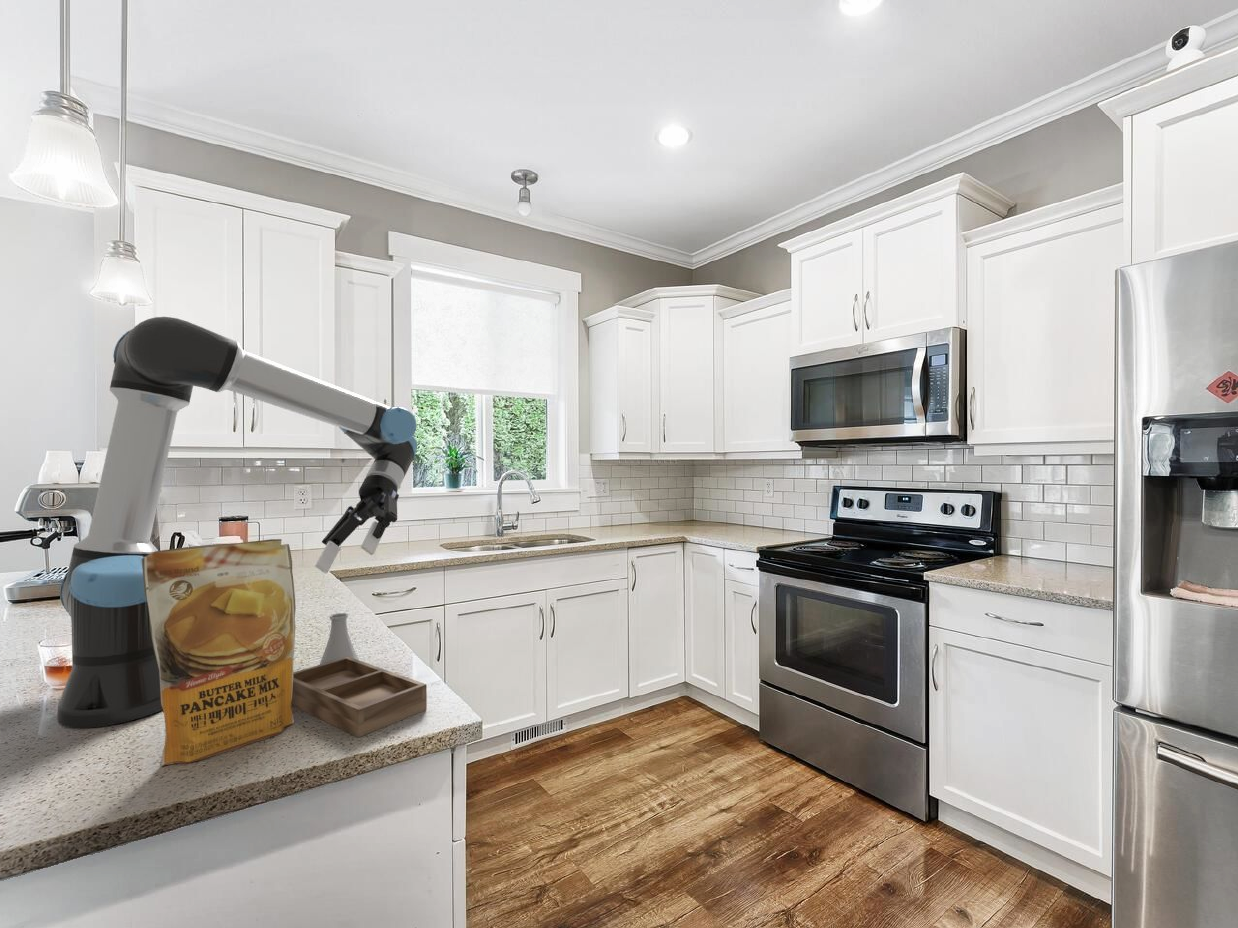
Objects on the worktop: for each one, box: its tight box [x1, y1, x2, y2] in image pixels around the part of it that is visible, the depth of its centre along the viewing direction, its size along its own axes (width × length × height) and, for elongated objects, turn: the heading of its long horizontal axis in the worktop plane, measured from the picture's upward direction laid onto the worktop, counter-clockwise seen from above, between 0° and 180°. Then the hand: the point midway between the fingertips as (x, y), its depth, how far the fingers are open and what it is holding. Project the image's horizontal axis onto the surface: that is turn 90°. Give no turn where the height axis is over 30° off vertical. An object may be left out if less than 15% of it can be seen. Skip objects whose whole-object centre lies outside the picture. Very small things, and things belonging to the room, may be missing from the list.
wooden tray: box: [291, 657, 428, 738], centre depth 98 cm, size 22×12×4 cm, turn 55°
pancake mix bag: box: [142, 538, 297, 767], centre depth 85 cm, size 7×19×28 cm, turn 140°
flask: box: [319, 612, 360, 665], centre depth 115 cm, size 7×7×10 cm
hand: (343, 560), depth 120 cm, fingers open, 13 cm apart
